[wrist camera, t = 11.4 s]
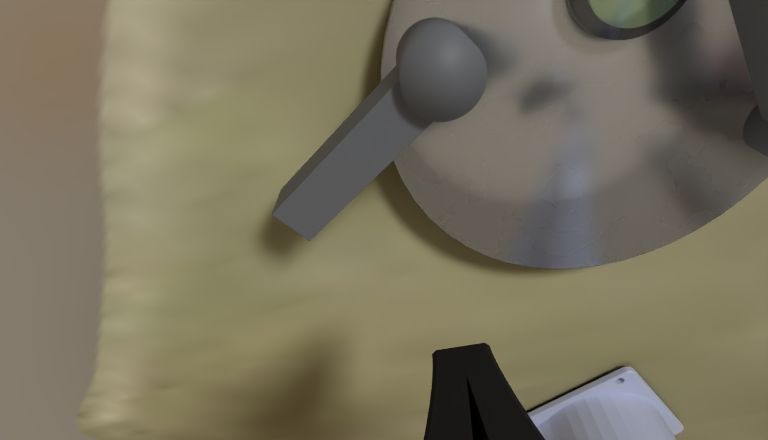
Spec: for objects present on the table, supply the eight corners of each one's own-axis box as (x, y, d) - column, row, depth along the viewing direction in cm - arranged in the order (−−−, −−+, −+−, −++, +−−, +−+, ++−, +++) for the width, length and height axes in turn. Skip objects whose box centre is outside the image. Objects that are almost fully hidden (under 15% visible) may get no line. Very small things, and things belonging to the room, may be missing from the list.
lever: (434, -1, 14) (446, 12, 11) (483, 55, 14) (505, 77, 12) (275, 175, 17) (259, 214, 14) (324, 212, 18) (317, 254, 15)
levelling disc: (523, 301, 23) (538, 336, 21) (289, 58, 16) (277, 75, 14) (876, 94, 17) (943, 114, 15) (741, -403, 11) (828, -485, 9)
